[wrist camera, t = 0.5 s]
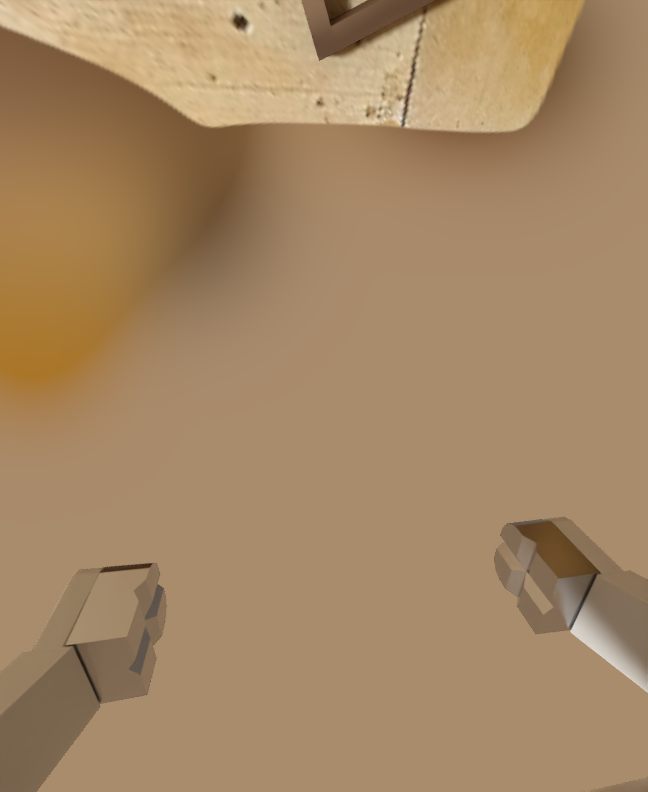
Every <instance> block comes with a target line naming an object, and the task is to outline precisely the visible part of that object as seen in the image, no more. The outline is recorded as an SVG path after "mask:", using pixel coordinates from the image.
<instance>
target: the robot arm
mask: <svg viewBox="0 0 648 792" xmlns="http://www.w3.org/2000/svg"><path fill="white" fill-rule="evenodd" d="M500 536H501V537H502V539H503V540H504V542H503V543H502V544H501V545H500V546H498V547H497V548H496V552H495V557H494V562H495V568H496V572H497V574H498V577H499V579H500V581H501V582H502V584H503V585H504V587H505V589H507V590H508V591H510V592H511V593H513V594H514V595H516V596H517V607H518V608H519V610H520V611H521V613H522V614H523V616H524V617H525V619H526V620H527V622H528V623H529V625H530V626H531V628H532V629H533V631H534V632H535V634H541V633H549V632H557V631H565V630H571V633H572V634H573V635H575V636H576V637H577V638H578V639H580V640H581V641H582V642H584V643H585V644H586V645H587V646H589V647H590V648H591V649H592V650H594V651H595V652H596V653H598V654H599V655H600V656H601V657H603V658H604V659H605V660H607V661H608V662H609V663H610V664H612V665H613V666H614V667H616V668H617V669H618V670H619V671H621V672H622V673H623V674H625V675H626V676H627V677H628V678H630V679H631V680H632V681H633V682H635V683H636V684H637V685H639V686H640V687H641V688H642V689H644V690H645V691H646V692H648V579H646V578H644V577H642V576H640V575H638V574H636V573H634V572H632V571H623V570H622V569H621V568H620V567H619V566H618V565H617V564H616V563H615V562H614V561H613V560H612V559H611V558H610V557H609V556H608V555H607V554H606V553H605V552H604V551H603V550H601V548H600V547H599V546H598V545H596V544H595V543H594V542H593V541H592V540H591V539H590V538H589V537H588V536H587V535H586V534H585V533H584V532H583V531H582V530H581V529H580V528H579V527H578V526H577V525H576V524H575V523H574V522H573V521H571V520H569V519H568V518H566V517H558V518H550V519H544V520H543V519H539V520H531V521H523V522H515V523H507V524H506V525H505V526H504V527H503V528H502V531H501V535H500ZM159 576H160V572H159V568H158V565H157V563H146V564H134V565H122V566H111V567H102V568H91V569H81V570H78V571H77V572H76V573H75V574H74V575H73V576H72V577H71V579H70V581H69V583H68V584H67V586H66V588H65V590H64V592H63V594H62V596H61V597H60V599H59V601H58V603H57V605H56V607H55V608H54V610H53V612H52V614H51V616H50V618H49V620H48V622H47V623H46V625H45V627H44V629H43V631H42V633H41V634H40V636H39V638H38V640H37V642H36V644H35V645H34V647H33V649H32V651H30V652H24V653H22V654H21V655H19V656H18V657H17V658H16V659H15V660H13V661H12V662H11V663H10V664H9V665H8V666H7V667H6V668H4V669H3V670H2V671H1V672H0V792H37V791H38V789H39V788H40V786H41V785H42V784H43V782H44V781H45V780H46V779H47V777H48V776H49V775H50V773H51V772H52V770H53V769H54V768H55V767H56V765H57V764H58V763H59V761H60V760H61V758H62V757H63V756H64V755H65V753H66V752H67V751H68V749H69V748H70V746H71V745H72V744H73V743H74V741H75V740H76V739H77V737H78V736H79V735H80V733H81V732H82V731H83V729H84V728H85V727H86V725H87V724H88V723H89V721H90V720H91V719H92V717H93V716H94V715H95V713H96V712H97V711H98V709H99V708H100V704H101V703H106V702H112V701H117V700H123V699H128V698H133V697H139V696H144V695H147V693H148V690H149V686H150V682H151V678H152V674H153V670H154V666H155V662H156V655H155V652H154V648H153V645H154V644H155V643H156V642H157V641H158V640H159V638H160V637H161V636H162V633H163V629H164V624H165V617H166V596H165V591H164V588H162V587H161V586H160V585H158V580H159ZM585 792H648V777H647V778H643V779H638V780H634V781H629V782H625V783H621V784H616V785H612V786H607V787H603V788H598V789H594V790H590V791H585Z"/></svg>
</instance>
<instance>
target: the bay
mask: <svg viewBox="0 0 648 792" xmlns="http://www.w3.org/2000/svg"><path fill="white" fill-rule="evenodd" d="M433 1H435V0H367V1H365V2H364V3H362V4H360V5H358V6H356V7H354V8H353V9H351V10H349V11H347V12H345V13H343V14H342V15H340V16H338V17H336V18H334V19H332V20H331V21H329V18H328V14H327V10H326V6H325V2H324V0H302V4H303V7H304V10H305V14H306V17H307V21H308V24H309V28H310V31H311V35H312V38H313V41H314V45H315V48H316V52H317V55H318V58H319V61H320V60H322V59H324V58H326V57H328V56H330V55H332V54H334V53H335V52H337V51H339V50H341V49H343V48H345V47H347V46H349V45H351V44H353V43H355V42H356V41H358V40H360V39H362V38H364V37H366V36H368V35H370V34H372V33H374V32H376V31H377V30H379V29H381V28H383V27H385V26H387V25H389V24H391V23H393V22H395V21H397V20H398V19H400V18H402V17H404V16H406V15H408V14H410V13H412V12H414V11H416V10H418V9H419V8H421V7H423V6H425V5H427V4H429V3H431V2H433Z"/></svg>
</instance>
